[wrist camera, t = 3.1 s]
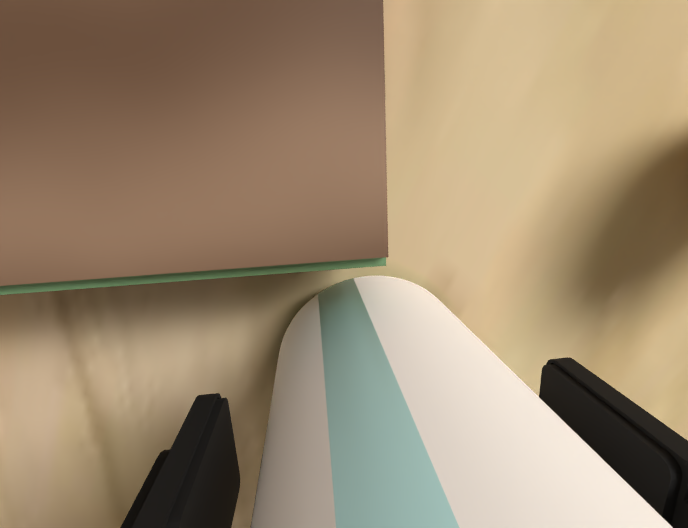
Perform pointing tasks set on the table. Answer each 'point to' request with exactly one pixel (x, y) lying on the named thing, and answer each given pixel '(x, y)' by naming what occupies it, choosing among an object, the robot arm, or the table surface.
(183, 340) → the table surface
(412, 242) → the table surface
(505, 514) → the can
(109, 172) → the stand
